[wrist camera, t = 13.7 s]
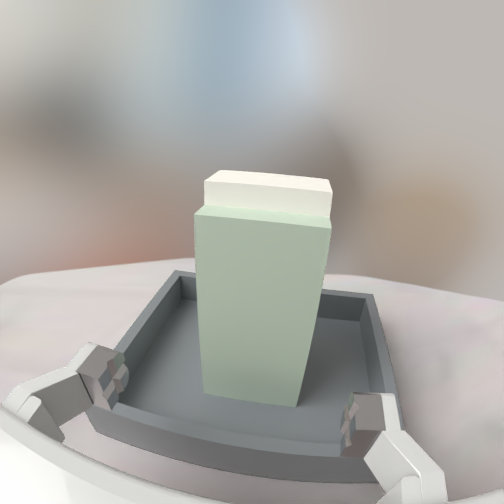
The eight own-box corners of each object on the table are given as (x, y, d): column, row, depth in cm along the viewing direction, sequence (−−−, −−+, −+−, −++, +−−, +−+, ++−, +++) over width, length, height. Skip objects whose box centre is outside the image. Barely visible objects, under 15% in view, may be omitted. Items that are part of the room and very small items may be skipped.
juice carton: (300, 347, 23) (326, 174, 18) (295, 407, 18) (335, 201, 12) (224, 337, 24) (226, 165, 19) (204, 393, 19) (193, 188, 13)
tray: (363, 325, 28) (372, 294, 26) (384, 481, 13) (408, 455, 12) (177, 301, 30) (175, 270, 28) (96, 431, 16) (78, 399, 14)
